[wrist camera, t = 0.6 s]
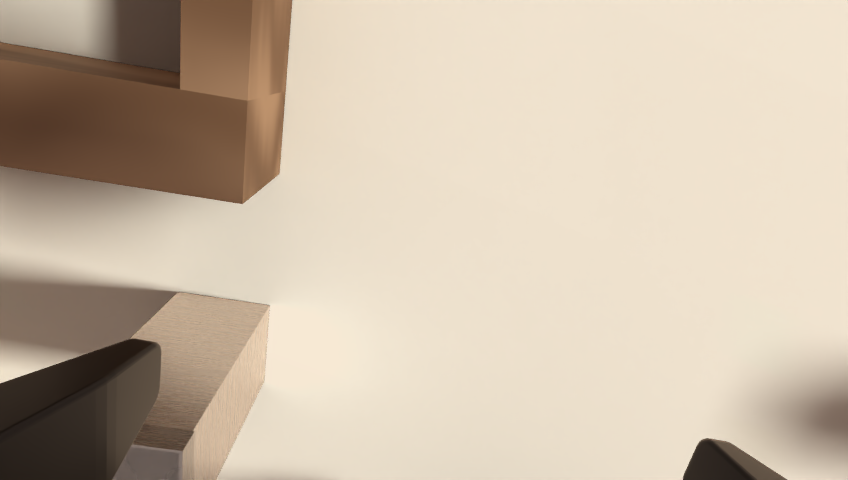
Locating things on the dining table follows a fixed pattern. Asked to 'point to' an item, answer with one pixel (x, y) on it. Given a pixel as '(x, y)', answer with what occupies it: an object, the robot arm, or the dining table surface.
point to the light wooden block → (199, 386)
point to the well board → (158, 107)
